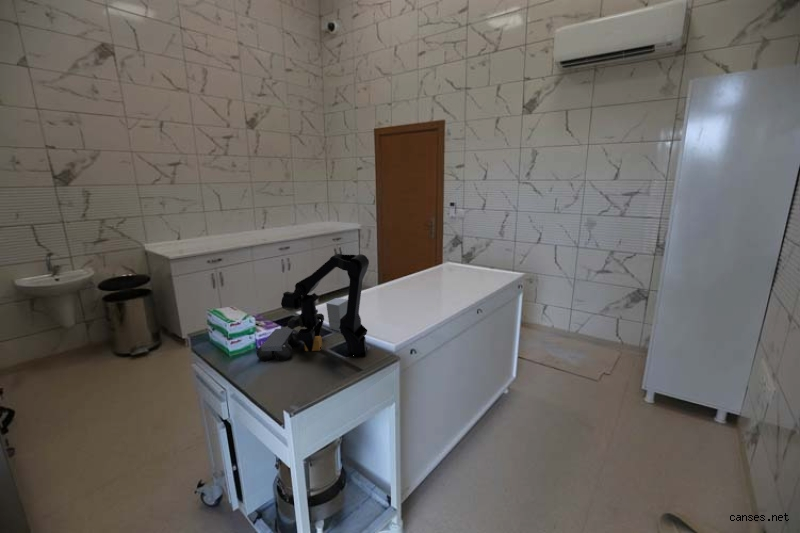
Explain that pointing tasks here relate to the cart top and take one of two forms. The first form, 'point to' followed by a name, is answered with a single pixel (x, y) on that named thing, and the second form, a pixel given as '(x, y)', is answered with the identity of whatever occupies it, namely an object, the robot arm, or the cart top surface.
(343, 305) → the supplement box
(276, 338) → the trolley
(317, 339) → the block
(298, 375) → the cart top surface
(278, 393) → the cart top surface
